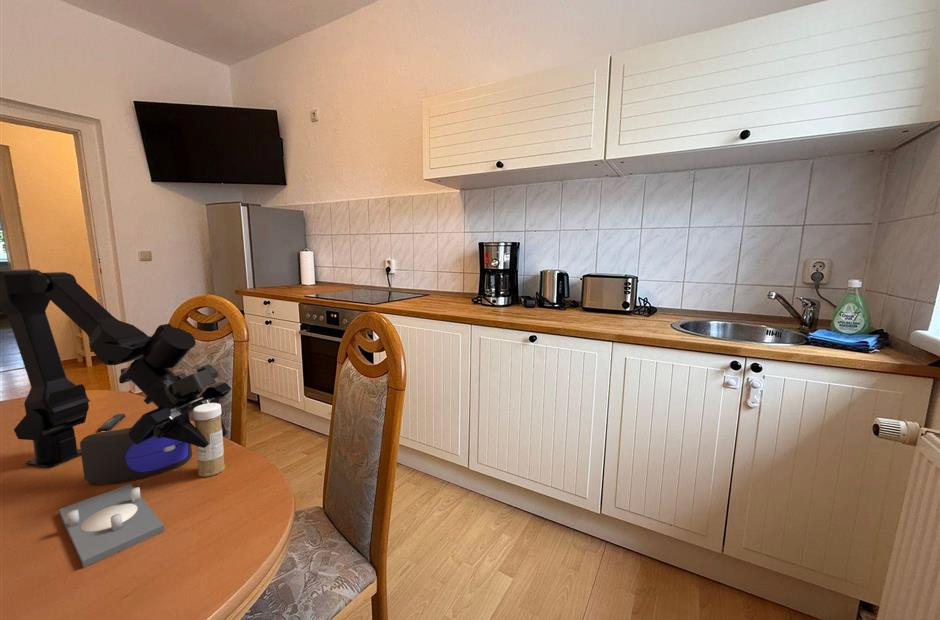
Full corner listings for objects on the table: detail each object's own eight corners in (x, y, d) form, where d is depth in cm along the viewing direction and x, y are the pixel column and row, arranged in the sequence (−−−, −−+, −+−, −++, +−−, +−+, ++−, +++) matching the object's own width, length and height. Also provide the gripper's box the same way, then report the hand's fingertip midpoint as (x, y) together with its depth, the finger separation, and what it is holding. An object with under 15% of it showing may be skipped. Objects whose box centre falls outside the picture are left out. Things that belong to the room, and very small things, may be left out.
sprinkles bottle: (192, 474, 75) (186, 408, 73) (215, 463, 79) (210, 400, 77) (208, 479, 73) (203, 412, 72) (231, 468, 77) (226, 404, 76)
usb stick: (114, 419, 101) (113, 413, 100) (126, 417, 102) (126, 412, 101) (96, 434, 92) (95, 428, 92) (110, 432, 93) (109, 426, 93)
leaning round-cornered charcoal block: (79, 494, 68) (73, 444, 67) (86, 482, 72) (80, 434, 71) (191, 468, 77) (188, 423, 76) (192, 458, 81) (189, 415, 80)
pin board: (59, 514, 63) (57, 497, 62) (131, 489, 70) (129, 473, 70) (83, 567, 52) (80, 547, 52) (164, 530, 60) (162, 513, 59)
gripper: (136, 369, 64) (202, 436, 65) (220, 345, 83) (271, 397, 83) (100, 411, 66) (164, 476, 66) (190, 378, 85) (239, 429, 85)
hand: (216, 440), depth 75 cm, fingers open, 4 cm apart
